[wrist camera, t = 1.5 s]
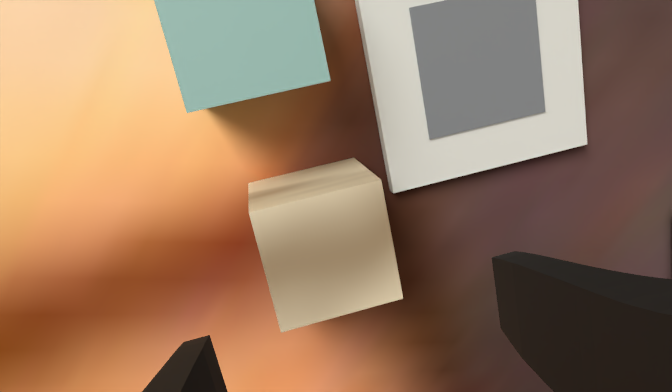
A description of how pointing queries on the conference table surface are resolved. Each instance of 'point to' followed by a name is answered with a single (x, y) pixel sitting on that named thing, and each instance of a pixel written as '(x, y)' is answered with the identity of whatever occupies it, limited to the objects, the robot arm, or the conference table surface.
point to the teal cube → (242, 48)
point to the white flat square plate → (472, 83)
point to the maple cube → (324, 242)
